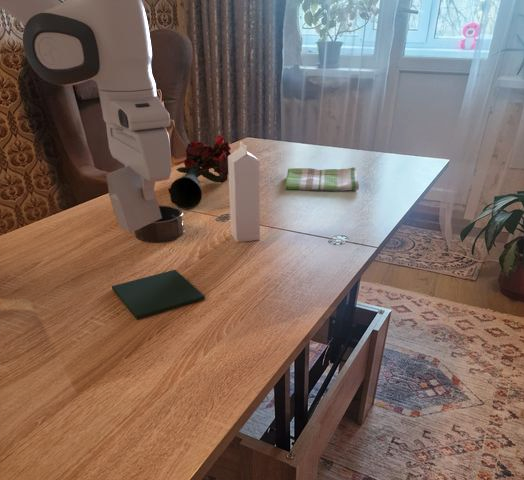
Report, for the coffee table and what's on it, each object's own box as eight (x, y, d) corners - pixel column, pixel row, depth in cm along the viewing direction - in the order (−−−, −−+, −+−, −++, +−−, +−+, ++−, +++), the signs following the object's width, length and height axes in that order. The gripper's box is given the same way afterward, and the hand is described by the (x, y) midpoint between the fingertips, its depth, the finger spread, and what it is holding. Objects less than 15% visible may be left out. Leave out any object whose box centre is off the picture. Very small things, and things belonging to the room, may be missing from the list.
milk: (236, 243, 117) (232, 147, 105) (230, 233, 122) (226, 141, 109) (260, 240, 119) (259, 145, 106) (253, 231, 124) (252, 139, 111)
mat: (136, 319, 88) (136, 316, 88) (112, 289, 98) (111, 285, 98) (204, 299, 95) (204, 295, 94) (175, 272, 104) (175, 269, 104)
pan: (145, 246, 116) (142, 226, 113) (128, 230, 124) (124, 211, 121) (192, 235, 121) (190, 216, 118) (172, 221, 130) (170, 202, 127)
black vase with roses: (194, 235, 141) (206, 191, 169) (240, 194, 134) (244, 155, 161) (153, 195, 134) (172, 156, 161) (200, 150, 126) (211, 117, 154)
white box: (161, 218, 87) (146, 163, 81) (130, 233, 84) (111, 177, 78) (151, 212, 90) (135, 159, 83) (119, 227, 87) (101, 172, 80)
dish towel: (358, 192, 149) (360, 181, 147) (284, 190, 151) (285, 179, 149) (355, 177, 163) (356, 166, 161) (287, 175, 165) (288, 164, 163)
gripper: (91, 101, 83) (106, 183, 91) (133, 120, 69) (147, 215, 77) (127, 98, 85) (138, 177, 93) (174, 116, 71) (183, 207, 79)
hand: (142, 194), depth 85 cm, fingers closed on white box, 4 cm apart
